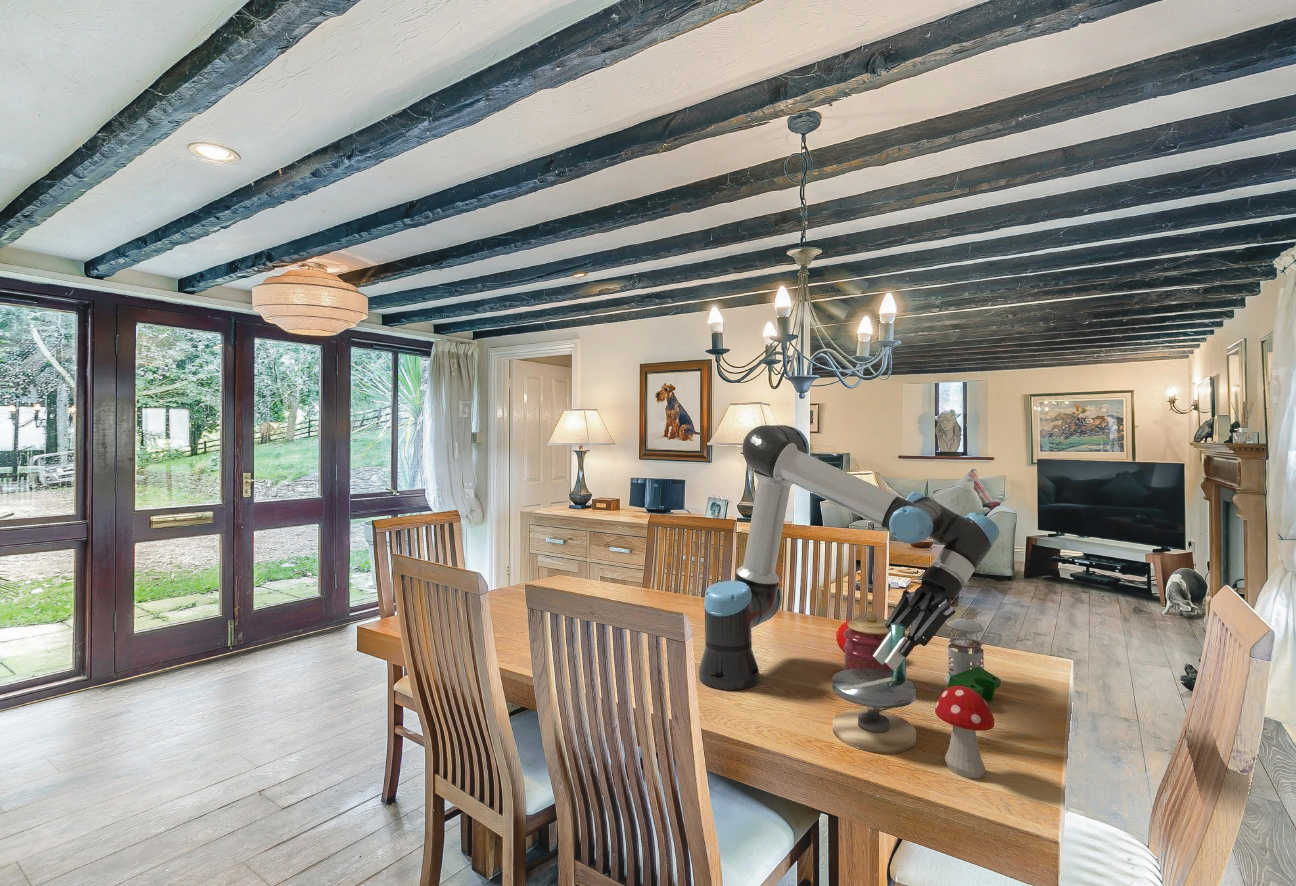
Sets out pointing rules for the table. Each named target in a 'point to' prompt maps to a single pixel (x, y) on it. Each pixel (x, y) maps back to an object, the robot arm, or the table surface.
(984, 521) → the robot arm
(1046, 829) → the table surface
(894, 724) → the cylinder
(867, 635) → the canister
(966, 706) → the decorative mushroom
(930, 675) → the table surface
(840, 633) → the tomato
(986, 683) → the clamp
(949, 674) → the french press
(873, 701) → the crank wheel
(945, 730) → the table surface
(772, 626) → the table surface
